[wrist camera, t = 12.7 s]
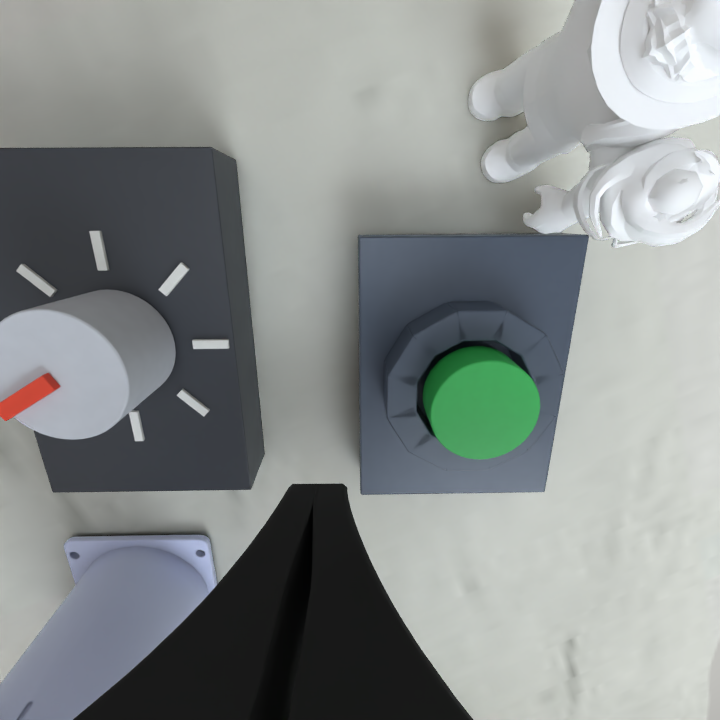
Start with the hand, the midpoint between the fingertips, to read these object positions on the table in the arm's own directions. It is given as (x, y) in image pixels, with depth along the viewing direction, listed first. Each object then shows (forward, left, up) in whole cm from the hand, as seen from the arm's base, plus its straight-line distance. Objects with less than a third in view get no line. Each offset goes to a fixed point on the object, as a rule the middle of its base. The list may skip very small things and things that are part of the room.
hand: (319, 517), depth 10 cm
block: (0, -6, -10) cm, 12 cm away
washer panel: (+2, +8, -10) cm, 13 cm away
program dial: (+2, +8, -7) cm, 11 cm away
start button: (0, -6, -7) cm, 9 cm away
